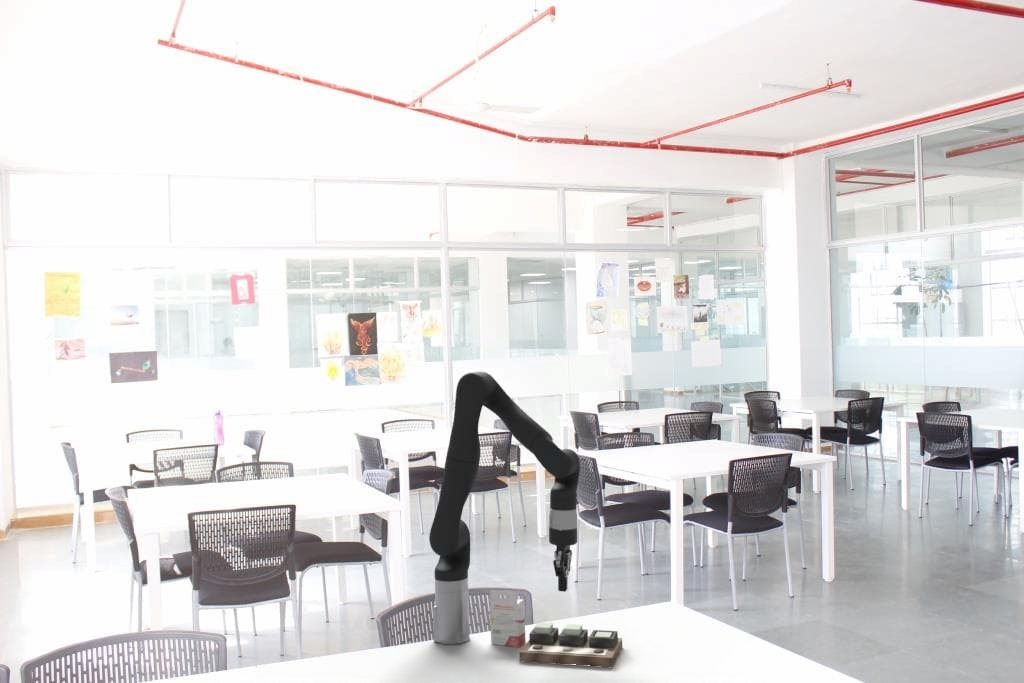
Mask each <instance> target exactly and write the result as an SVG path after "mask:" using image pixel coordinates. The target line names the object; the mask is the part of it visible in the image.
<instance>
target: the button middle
mask: <svg viewBox="0 0 1024 683" xmlns="http://www.w3.org/2000/svg"><path fill="white" fill-rule="evenodd" d="M563 629H564V635H575V636H581V634H582V629H583V624H571V623H570V624H569V623H568V624H566V626H565V627H564V628H563Z"/></svg>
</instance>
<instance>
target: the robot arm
mask: <svg viewBox="0 0 1024 683" xmlns="http://www.w3.org/2000/svg"><path fill="white" fill-rule="evenodd" d="M483 407H485V408H486V409H488V410H489V411H490V412H492V413H494V414H495V415H496V417H498V418H499V419H500V420H501V421H502V422H503V424H504V425H505V427H506V428H507V430H509V433H511V435H512V436H513V438H515V440H516V441H517V442H519V443H520V444H521V445H522V446H523V447H524V448H525V449H527V451H529V452H530V453H532V454H533V455H534V456H535V458H536V460H537V461H538V462H539V463H540V465H541V466H542V467H543V468H544V470H545V471H546V472H548V473H549V474H550V475H552V476H553V477H554V484H553V486H552V487H551V489H550V492H549V493H550V494H549V498H550V499H549V500H550V501H549V514H548V542H549V544H551V545H554V546H556V548H555V549H556V550H554V551H553V552H554V555H553V556H554V559H553V561H552V563H553V568H554V573H555V577H557V578H558V579H557V580H558V581H557V582H558V583H557V584H558V585H557V587H558V588H557V589H558V592H566V591H567V590H568V580H569V579H568V576H569V574H570V571H571V565H572V557H573V551H572V549H571V546H575V545H576V544H577V543H578V513H577V512H578V510H577V508H578V507H577V505H578V504H577V499H578V498H577V497H578V496H577V495H578V494H577V489H578V484H579V477H580V473H581V472H580V471H581V470H580V469H581V462H580V458H579V455H578V453H577V452H575V451H574V450H573V449H569V448H562V449H561V448H560V447H559V446H558V445H557V444H556V443H555V442H553V440H554V439H553V436H552V435H551V434H550V432H548V431H546V429H545V428H543V427H542V426H541V425H540V424H539V423H538V422H537V421H535V420H534V419H533V418H532V417H531V416H529V415H528V413H526V412H525V411H524V410H523V409H522V408H521V407H520V406H519V405H518V404H517V403H516V402H515V401H514V400H513V399H512V398H511V396H509V394H507V392H506V391H505V390H504V389H503V388H502V386H501V385H500V384H499V382H497V380H496V379H495V378H494V377H493V375H491V374H489V373H488V372H486V371H472V372H467V373H465V374H464V375H461V377H460V378H459V380H458V383H457V385H456V390H455V402H454V412H453V413H454V415H453V421H452V422H453V423H452V427H451V432H450V435H449V436H450V437H449V441H448V442H449V443H448V447H447V452H446V457H445V463H444V466H443V467H444V468H443V474H442V480H441V486H440V491H439V497H438V504H437V507H436V510H435V511H436V512H435V514H434V517H433V521H432V525H431V528H430V531H429V538H428V541H429V545H430V547H431V549H432V551H433V553H435V555H437V556H439V558H438V562H437V565H436V566H435V568H434V594H435V595H434V596H435V599H434V602H435V605H434V606H433V607H432V620H433V621H432V622H433V623H432V624H433V642H435V643H439V644H443V645H460V644H463V643H467V642H468V641H469V640H470V631H471V630H470V607H469V604H470V603H469V600H470V599H469V578H468V577H469V574H468V573H469V569H470V564H471V535H470V534H471V533H470V530H469V526H468V525H467V523H466V522H465V521H463V519H462V515H463V514H462V513H463V510H464V507H465V504H466V501H467V499H468V497H469V496H470V493H471V491H472V490H473V487H474V484H475V482H476V480H477V476H478V471H479V466H480V460H481V442H480V438H479V435H480V434H479V423H480V418H481V414H482V410H483Z"/></svg>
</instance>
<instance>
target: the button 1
mask: <svg viewBox="0 0 1024 683" xmlns="http://www.w3.org/2000/svg"><path fill="white" fill-rule="evenodd" d="M534 628H535V633H540V634H551V633H552V632H553V628H554V623H550V622H547V623H546V622H538V623H537V624H536V625H535V626H534Z"/></svg>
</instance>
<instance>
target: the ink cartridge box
mask: <svg viewBox="0 0 1024 683" xmlns="http://www.w3.org/2000/svg"><path fill="white" fill-rule="evenodd" d="M489 595H490V597H489V598H490V599H489V600H490V601H489V610H490V611H489V612H490V613H489V615H490V617H489V618H490V643H491V645H493V644H497V645H496V646H504V645H508V646H507V647H514V646H517V647H518V648H520V647H521V646H522V645H524V644H526V643H527V642H526V640H527V639H526V621H525V620H526V618H525V616H526V615H525V613H526V612H525V600H524V599H520V598H519V599H518V591H517V592H516V591H508V590H507V591H505V590H490V594H489ZM503 595H504V596H506V597H500V596H503ZM517 647H516V648H517Z"/></svg>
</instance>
